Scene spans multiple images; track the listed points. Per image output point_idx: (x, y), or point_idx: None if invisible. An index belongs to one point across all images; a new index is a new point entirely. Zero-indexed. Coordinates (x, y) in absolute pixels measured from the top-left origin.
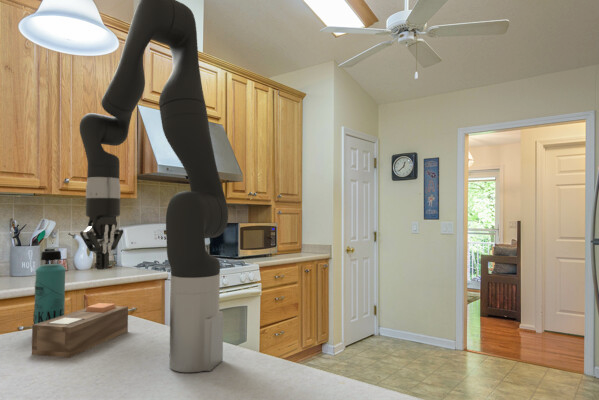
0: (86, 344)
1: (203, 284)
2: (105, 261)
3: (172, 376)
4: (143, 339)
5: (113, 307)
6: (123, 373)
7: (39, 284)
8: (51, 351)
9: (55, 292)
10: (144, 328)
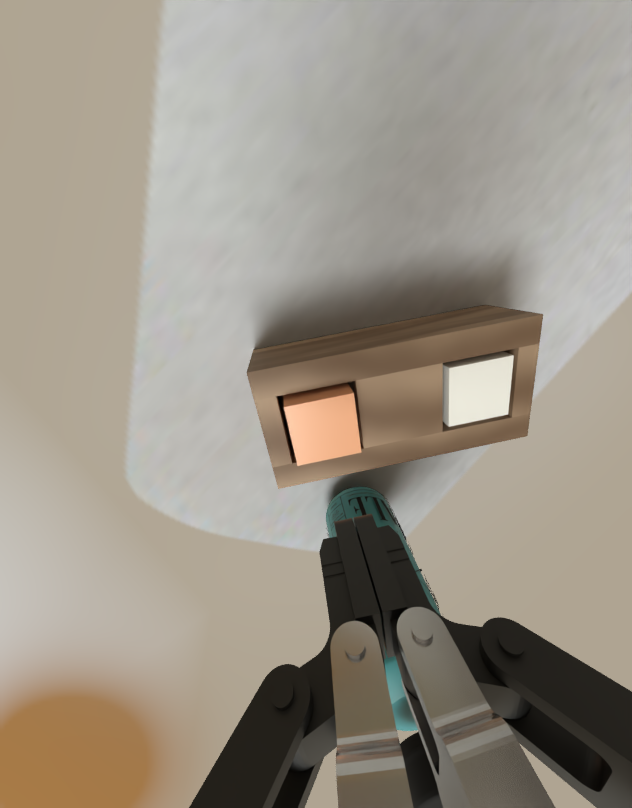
0: (435, 317)
1: None
2: (375, 552)
3: None
4: (296, 233)
5: (293, 401)
6: (573, 31)
7: None
8: None
9: None
10: (201, 326)
